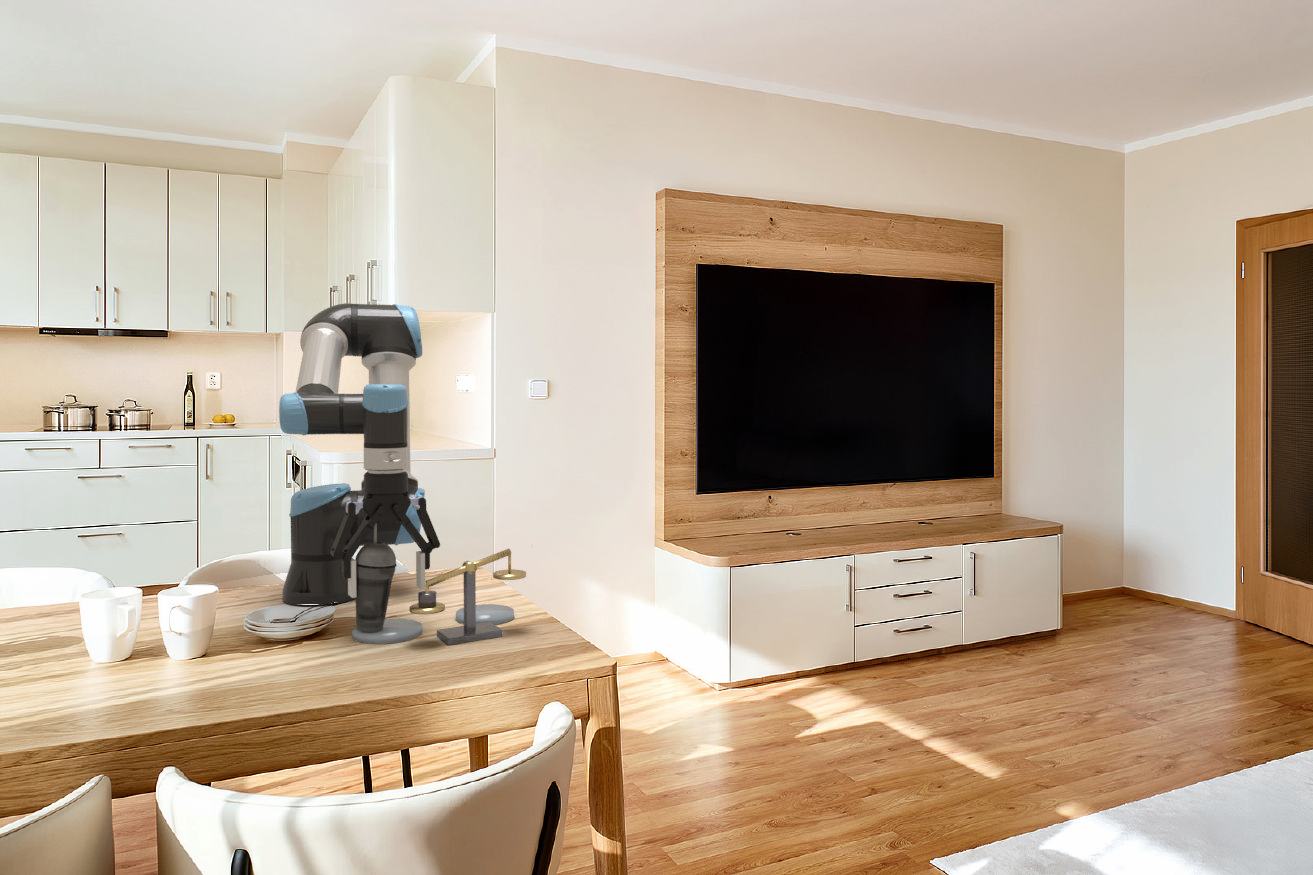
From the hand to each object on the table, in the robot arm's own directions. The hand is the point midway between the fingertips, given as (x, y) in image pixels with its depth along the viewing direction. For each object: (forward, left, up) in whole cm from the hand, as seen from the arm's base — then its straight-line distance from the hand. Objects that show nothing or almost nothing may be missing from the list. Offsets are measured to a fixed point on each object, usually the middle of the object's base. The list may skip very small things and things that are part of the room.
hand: (387, 591), depth 158 cm
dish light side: (-1, +19, -8) cm, 21 cm away
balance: (+9, +12, -8) cm, 17 cm away
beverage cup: (0, -3, -6) cm, 7 cm away
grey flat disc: (0, 0, -8) cm, 8 cm away
